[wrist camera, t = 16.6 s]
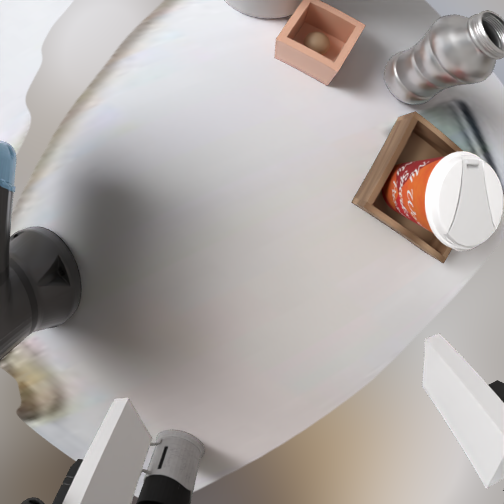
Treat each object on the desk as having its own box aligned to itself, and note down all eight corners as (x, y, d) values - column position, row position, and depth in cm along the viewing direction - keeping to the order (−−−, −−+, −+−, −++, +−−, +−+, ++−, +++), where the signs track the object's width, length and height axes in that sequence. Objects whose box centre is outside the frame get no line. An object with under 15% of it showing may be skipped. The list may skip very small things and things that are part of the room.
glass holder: (181, 465, 50) (164, 527, 35) (123, 420, 47) (92, 482, 33) (214, 451, 48) (202, 520, 34) (154, 402, 46) (124, 471, 31)
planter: (274, 57, 33) (275, 39, 27) (301, 16, 31) (306, -6, 26) (327, 85, 34) (337, 72, 28) (352, 43, 32) (365, 25, 26)
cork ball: (297, 51, 32) (300, 42, 29) (309, 33, 31) (312, 23, 29) (320, 63, 32) (325, 55, 29) (331, 45, 32) (336, 36, 29)
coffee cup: (370, 154, 35) (431, 148, 20) (430, 154, 34) (506, 154, 20) (373, 225, 37) (431, 259, 22) (431, 221, 36) (504, 251, 22)
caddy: (351, 202, 37) (363, 207, 32) (398, 117, 34) (415, 111, 29) (425, 252, 38) (443, 263, 33) (467, 173, 35) (488, 175, 30)
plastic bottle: (409, 118, 34) (514, 90, 15) (368, 80, 33) (451, 17, 14) (433, 85, 33) (536, 46, 13) (395, 49, 32) (479, -19, 12)
